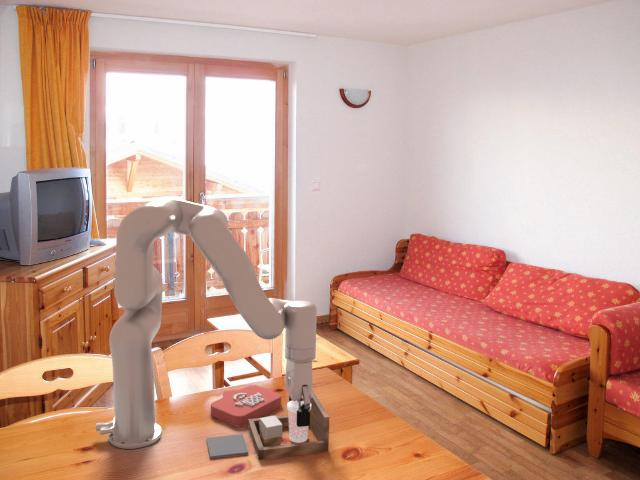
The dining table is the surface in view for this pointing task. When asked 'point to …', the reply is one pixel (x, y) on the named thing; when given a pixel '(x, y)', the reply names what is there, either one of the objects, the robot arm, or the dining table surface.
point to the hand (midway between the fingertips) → (299, 417)
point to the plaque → (245, 404)
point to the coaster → (227, 446)
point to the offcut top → (271, 427)
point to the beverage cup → (296, 432)
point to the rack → (318, 427)
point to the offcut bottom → (269, 441)
